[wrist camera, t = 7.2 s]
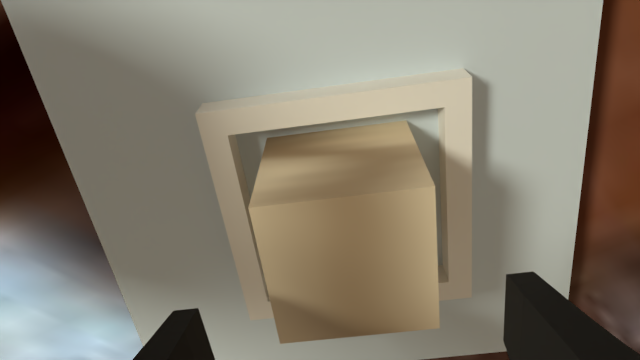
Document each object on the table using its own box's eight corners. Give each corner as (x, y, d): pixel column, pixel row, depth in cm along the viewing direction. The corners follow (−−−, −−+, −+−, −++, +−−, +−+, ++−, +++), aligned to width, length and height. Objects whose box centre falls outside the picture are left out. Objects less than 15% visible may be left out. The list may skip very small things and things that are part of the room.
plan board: (166, 362, 22) (152, 404, 20) (-8, -85, 14) (-61, -87, 12) (550, 324, 21) (573, 365, 19) (601, -186, 13) (650, -207, 11)
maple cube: (289, 251, 18) (280, 343, 14) (266, 137, 16) (248, 208, 12) (413, 237, 18) (439, 328, 14) (406, 120, 16) (435, 186, 12)
